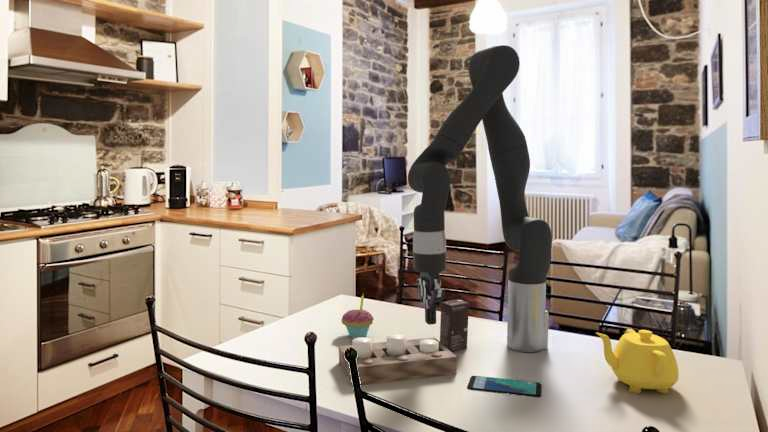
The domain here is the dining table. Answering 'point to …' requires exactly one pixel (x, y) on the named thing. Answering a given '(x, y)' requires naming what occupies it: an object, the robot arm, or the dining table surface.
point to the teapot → (642, 361)
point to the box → (454, 324)
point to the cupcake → (357, 321)
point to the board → (401, 363)
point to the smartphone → (505, 386)
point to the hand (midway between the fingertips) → (430, 323)
